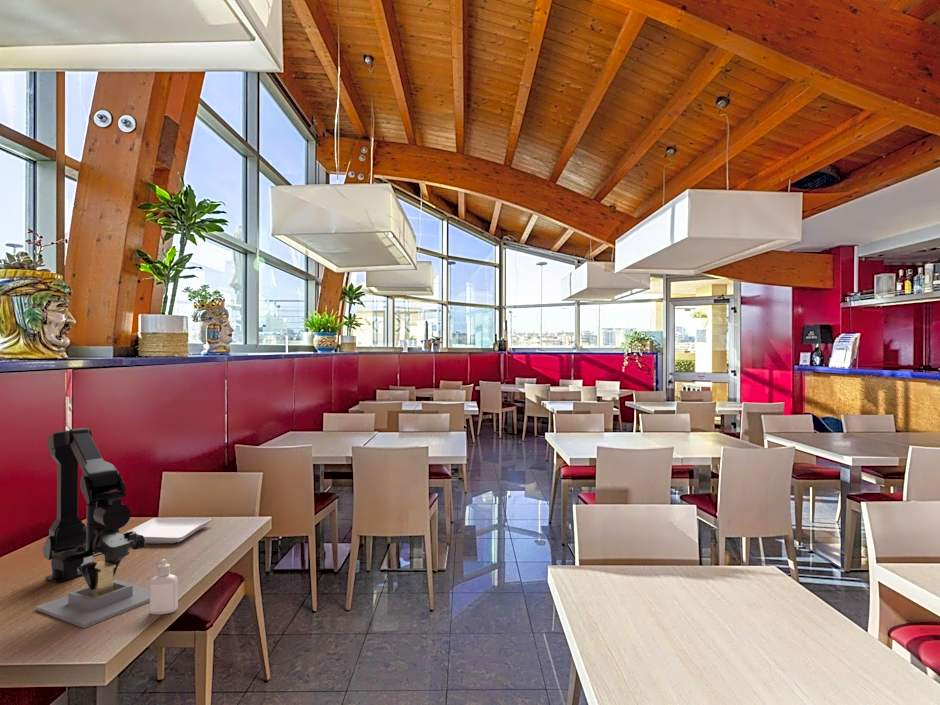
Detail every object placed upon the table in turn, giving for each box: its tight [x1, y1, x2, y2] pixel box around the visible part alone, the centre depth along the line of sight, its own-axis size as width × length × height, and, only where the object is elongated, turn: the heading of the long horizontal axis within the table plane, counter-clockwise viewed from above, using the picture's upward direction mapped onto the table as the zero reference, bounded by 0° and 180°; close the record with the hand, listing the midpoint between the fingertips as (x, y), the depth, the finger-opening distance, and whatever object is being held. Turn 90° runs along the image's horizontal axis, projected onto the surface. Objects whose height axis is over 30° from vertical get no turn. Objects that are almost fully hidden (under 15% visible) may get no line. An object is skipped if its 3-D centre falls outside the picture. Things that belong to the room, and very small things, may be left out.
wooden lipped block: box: [89, 560, 116, 597], centre depth 133 cm, size 6×4×7 cm, turn 62°
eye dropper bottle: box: [149, 558, 179, 615], centre depth 128 cm, size 4×6×12 cm
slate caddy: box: [35, 578, 150, 629], centre depth 133 cm, size 20×18×3 cm
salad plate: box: [124, 517, 212, 544], centre depth 184 cm, size 21×21×3 cm
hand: (100, 586), depth 133 cm, fingers closed on wooden lipped block, 3 cm apart
